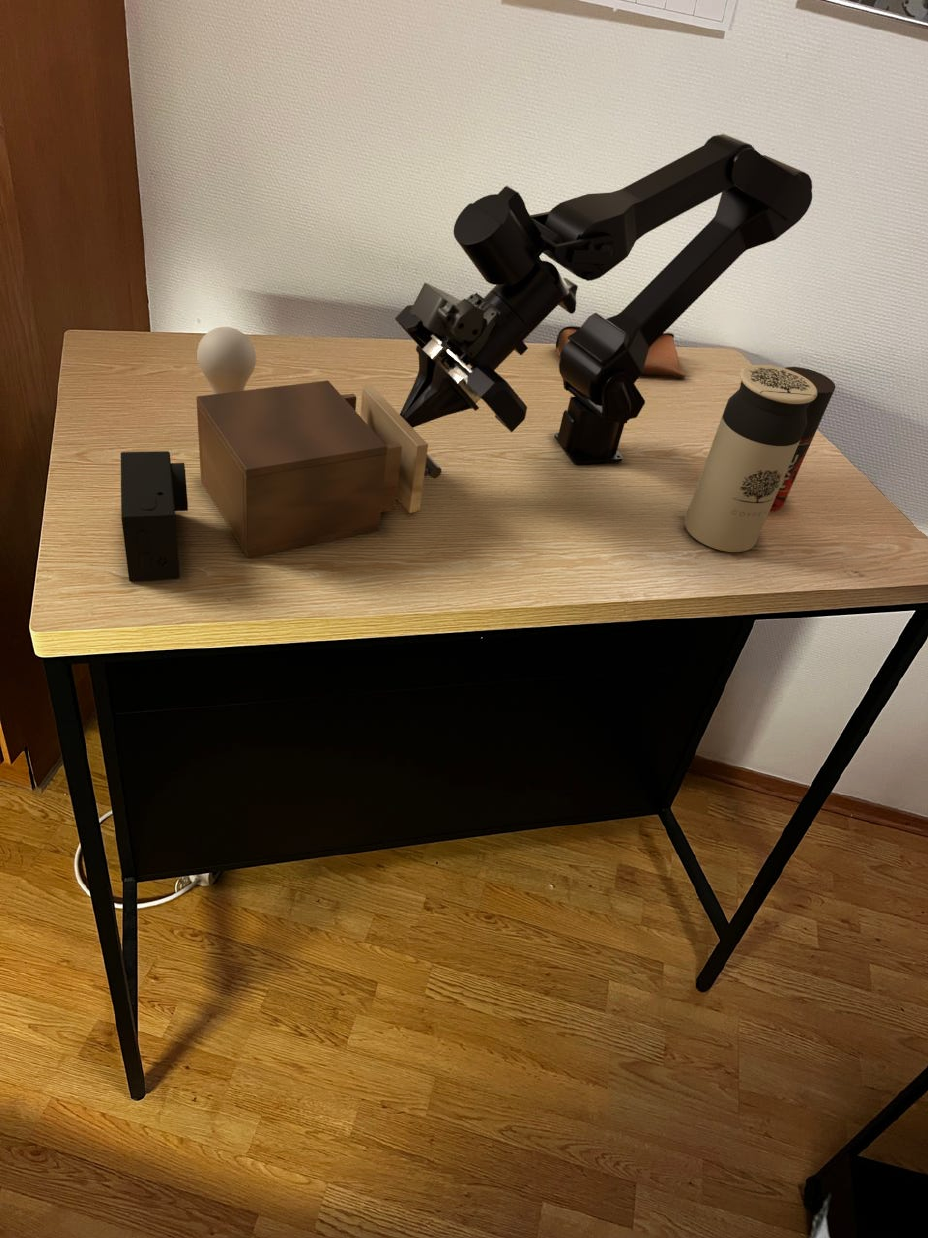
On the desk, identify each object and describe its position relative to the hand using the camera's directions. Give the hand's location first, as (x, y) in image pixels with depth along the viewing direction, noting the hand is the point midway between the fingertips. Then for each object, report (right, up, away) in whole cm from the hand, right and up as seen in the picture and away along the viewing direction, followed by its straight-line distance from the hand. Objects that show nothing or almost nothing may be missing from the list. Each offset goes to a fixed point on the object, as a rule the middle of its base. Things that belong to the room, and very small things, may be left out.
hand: (400, 426), depth 92 cm
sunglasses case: (+29, +17, +37) cm, 50 cm away
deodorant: (+41, -6, +14) cm, 44 cm away
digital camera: (-22, -13, -8) cm, 27 cm away
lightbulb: (-20, +2, +10) cm, 22 cm away
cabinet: (-11, -8, -1) cm, 14 cm away
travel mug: (+34, -10, +7) cm, 37 cm away
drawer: (-5, -6, +2) cm, 8 cm away
